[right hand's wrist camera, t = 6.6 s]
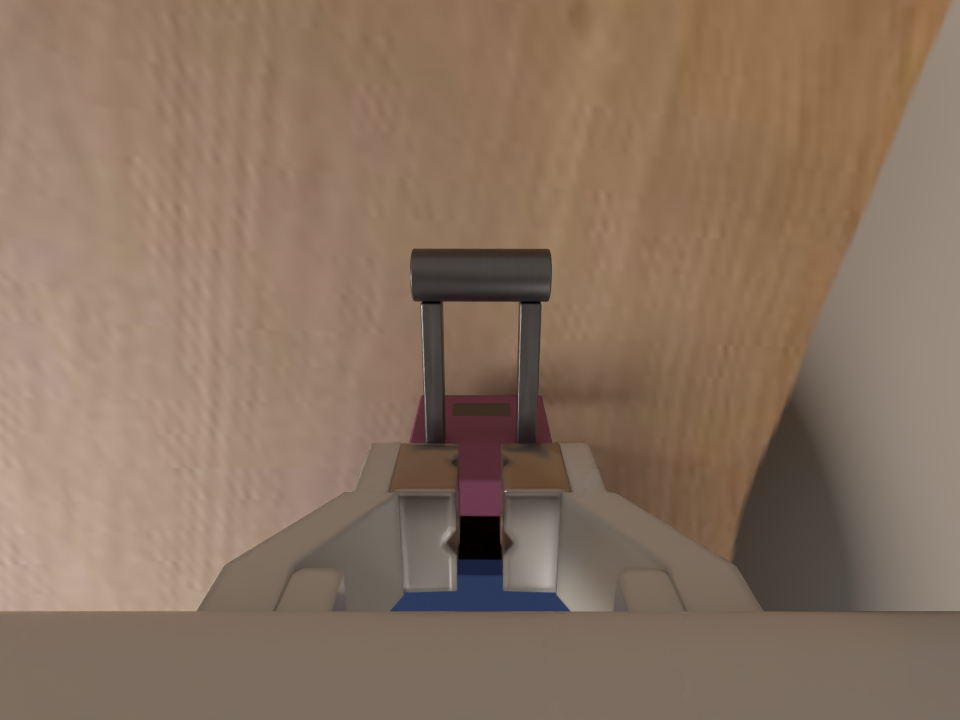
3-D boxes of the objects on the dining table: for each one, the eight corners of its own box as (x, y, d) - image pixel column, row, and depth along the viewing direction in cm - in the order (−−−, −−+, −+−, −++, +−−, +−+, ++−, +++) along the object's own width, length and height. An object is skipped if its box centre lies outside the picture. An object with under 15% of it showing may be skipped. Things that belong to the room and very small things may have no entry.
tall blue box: (409, 442, 23) (377, 575, 16) (552, 443, 23) (583, 576, 16) (425, 771, 30) (407, 969, 23) (536, 772, 30) (552, 969, 23)
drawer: (414, 231, 19) (387, 265, 14) (548, 231, 19) (573, 265, 14) (433, 739, 28) (421, 885, 22) (527, 739, 28) (538, 886, 22)
